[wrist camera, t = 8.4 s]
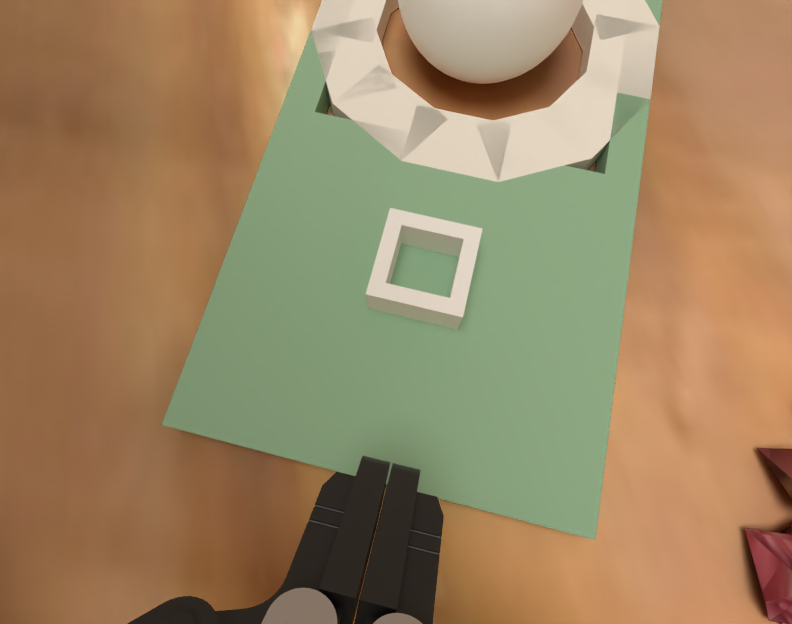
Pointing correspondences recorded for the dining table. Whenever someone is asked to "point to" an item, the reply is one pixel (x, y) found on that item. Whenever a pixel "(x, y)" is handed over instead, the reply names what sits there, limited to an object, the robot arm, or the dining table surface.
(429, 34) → the ball
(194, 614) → the robot arm
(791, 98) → the dining table surface
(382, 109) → the mini golf board
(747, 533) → the coral reef model
